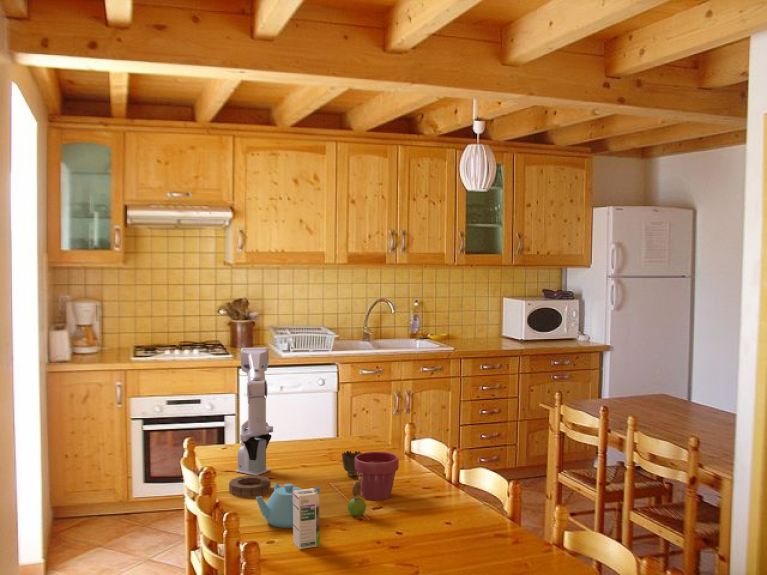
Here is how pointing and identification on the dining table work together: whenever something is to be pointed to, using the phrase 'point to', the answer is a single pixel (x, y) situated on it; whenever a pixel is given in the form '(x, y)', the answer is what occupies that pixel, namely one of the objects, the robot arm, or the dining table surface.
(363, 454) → the plant pot
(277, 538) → the dining table surface
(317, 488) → the teapot
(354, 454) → the cup
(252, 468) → the slate peg
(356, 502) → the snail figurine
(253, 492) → the walnut ring
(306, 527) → the syrup box
